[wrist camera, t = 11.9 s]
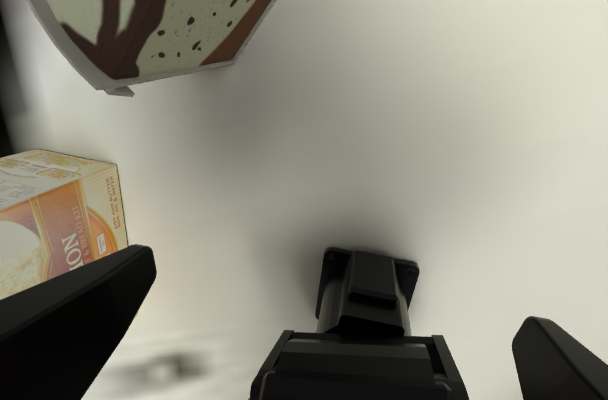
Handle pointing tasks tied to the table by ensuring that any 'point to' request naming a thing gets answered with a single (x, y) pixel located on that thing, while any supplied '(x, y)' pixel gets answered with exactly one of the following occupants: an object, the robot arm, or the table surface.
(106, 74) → the food container
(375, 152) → the table surface
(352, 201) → the table surface
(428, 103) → the table surface
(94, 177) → the coffeecake box
